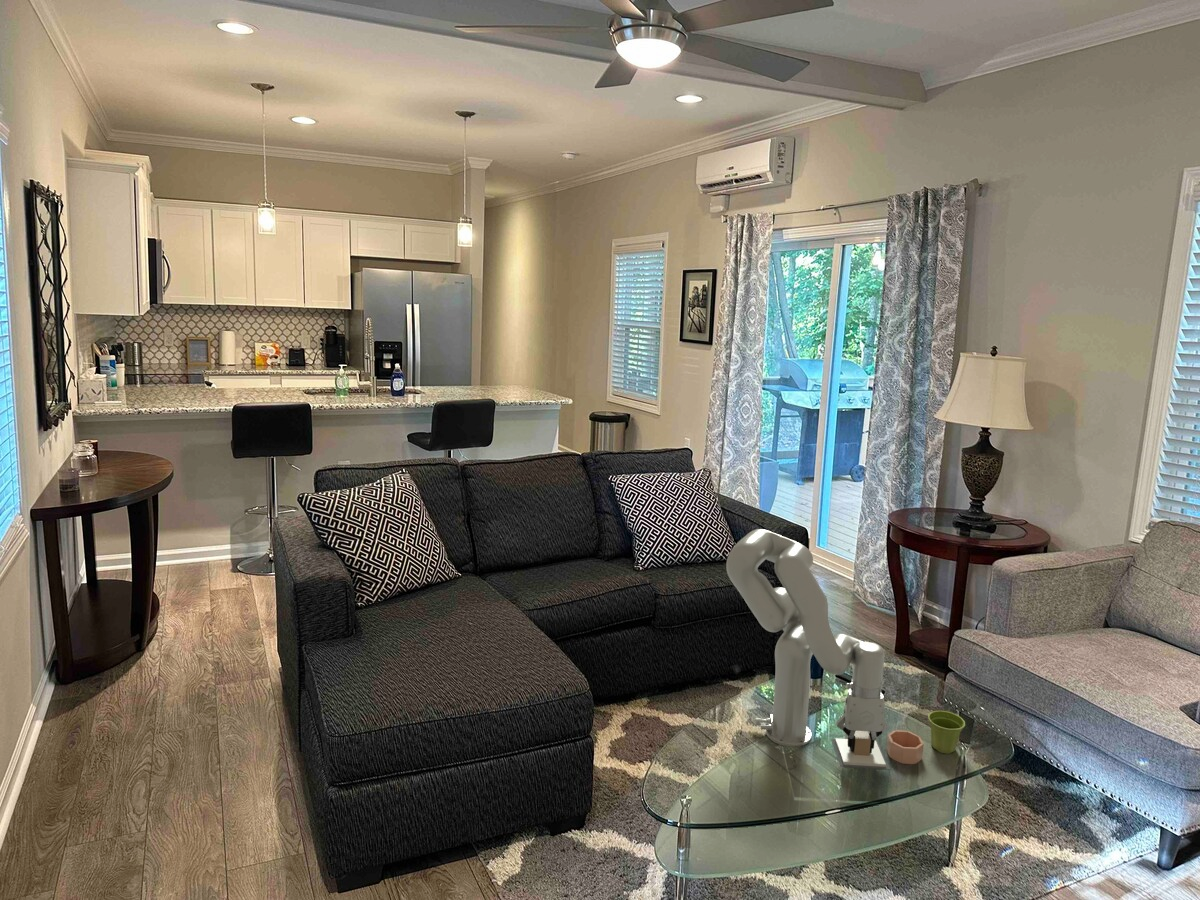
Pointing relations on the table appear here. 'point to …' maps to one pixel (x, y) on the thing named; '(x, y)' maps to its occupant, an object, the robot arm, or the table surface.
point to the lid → (860, 751)
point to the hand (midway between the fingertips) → (860, 749)
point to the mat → (859, 765)
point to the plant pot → (945, 730)
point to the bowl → (904, 747)
